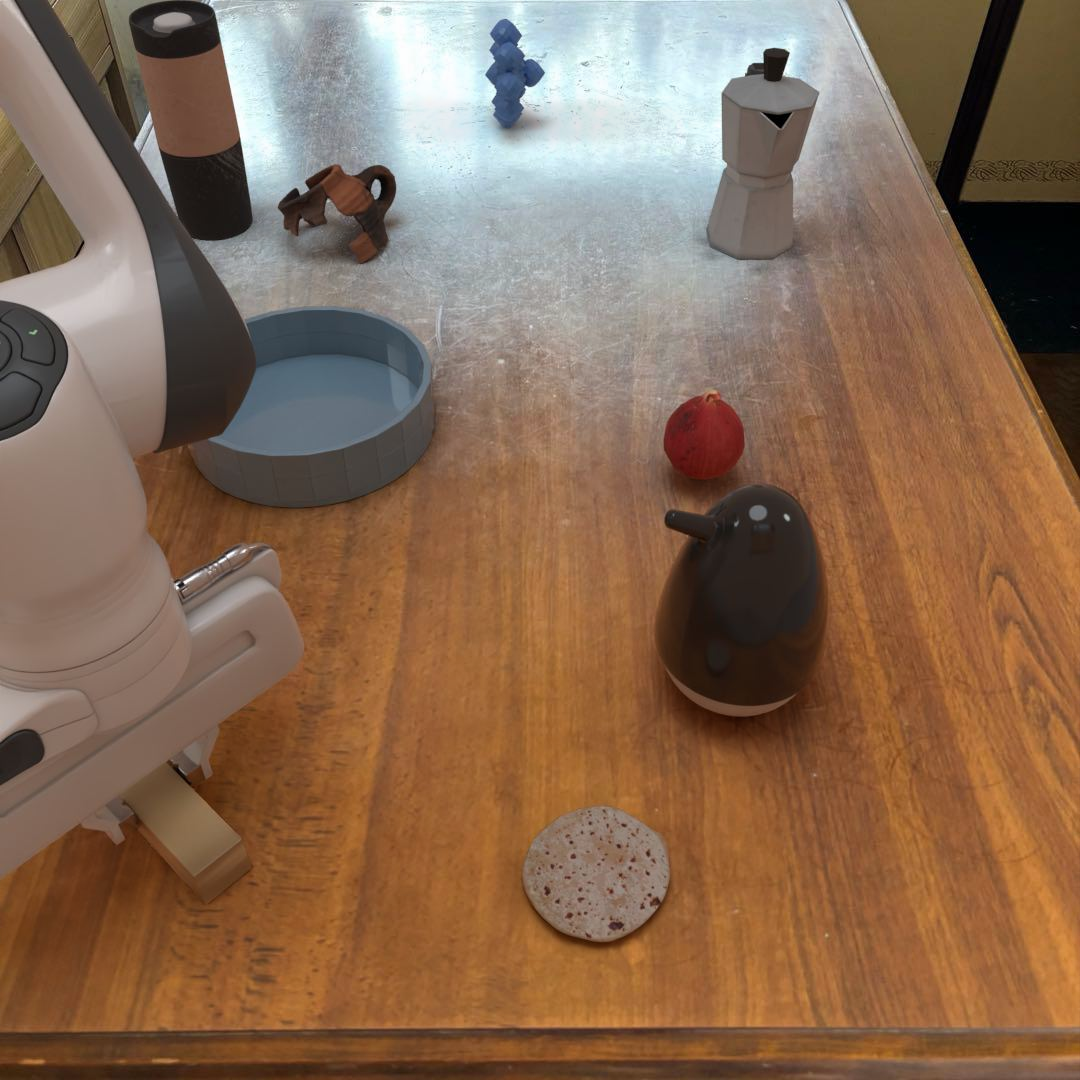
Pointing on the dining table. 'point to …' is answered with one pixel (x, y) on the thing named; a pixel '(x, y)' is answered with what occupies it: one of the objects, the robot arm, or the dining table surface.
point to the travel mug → (193, 115)
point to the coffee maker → (760, 159)
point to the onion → (704, 437)
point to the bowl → (324, 409)
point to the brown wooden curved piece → (345, 204)
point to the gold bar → (187, 832)
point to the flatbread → (596, 873)
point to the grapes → (510, 73)
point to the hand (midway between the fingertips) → (158, 802)
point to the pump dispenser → (744, 603)
